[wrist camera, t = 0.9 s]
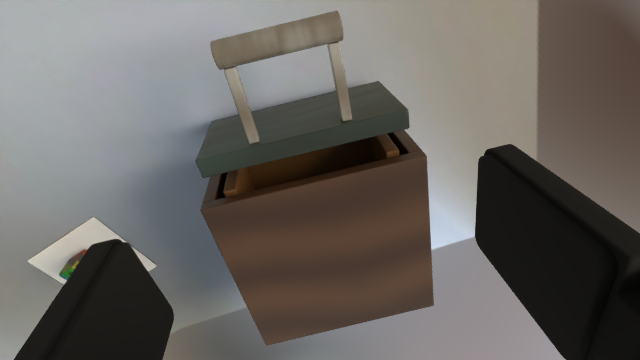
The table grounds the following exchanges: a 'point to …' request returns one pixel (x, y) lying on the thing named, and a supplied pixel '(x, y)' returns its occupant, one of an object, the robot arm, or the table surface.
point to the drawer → (297, 115)
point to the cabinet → (329, 245)
